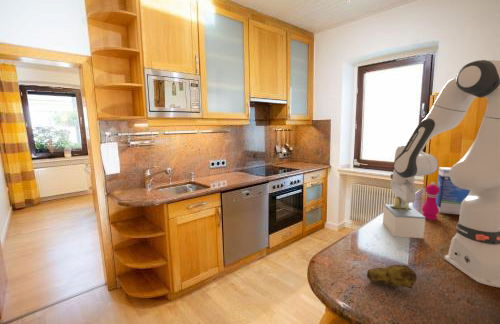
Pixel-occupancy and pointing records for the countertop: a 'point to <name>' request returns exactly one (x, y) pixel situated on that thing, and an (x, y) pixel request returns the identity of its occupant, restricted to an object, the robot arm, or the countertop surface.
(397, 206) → the block
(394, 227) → the coin box
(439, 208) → the string lights box
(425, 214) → the pepper mill
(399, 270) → the potato
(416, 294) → the countertop surface
